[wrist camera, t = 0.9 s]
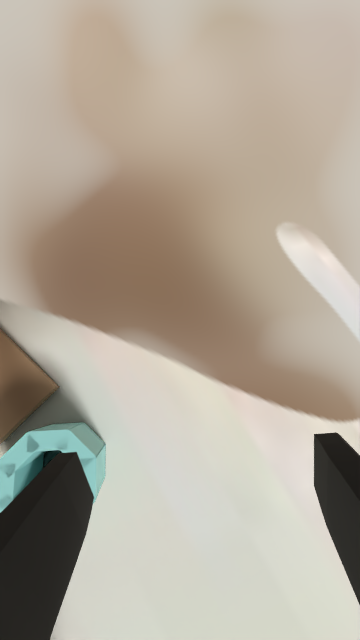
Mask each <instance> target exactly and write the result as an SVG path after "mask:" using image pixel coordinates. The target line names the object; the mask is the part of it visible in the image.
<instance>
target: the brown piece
mask: <svg viewBox="0 0 360 640" xmlns="http://www.w3.org/2000/svg"><path fill="white" fill-rule="evenodd" d="M58 388H59V386H58V385H57V384H56V383H55V382H54V381H53V380H52V379H51V378H50V377H49V376H48V375H47V374H46V373H45V372H44V371H43V370H42V369H41V368H40V367H39V366H38V365H37V364H36V363H35V362H34V361H33V360H32V359H31V358H30V357H29V356H28V355H27V354H26V353H25V352H24V351H23V350H22V349H21V348H20V347H19V346H17V345H16V344H15V343H14V342H13V341H12V340H11V339H10V338H9V337H8V336H7V335H6V334H5V333H4V332H3V331H2V330H1V329H0V444H1V443H2V442H3V441H4V440H5V439H6V438H7V437H8V436H9V435H10V434H11V433H12V432H14V431H15V430H16V429H17V428H18V427H19V426H20V425H21V424H22V423H23V422H24V421H25V420H26V419H27V418H28V417H29V416H30V415H31V414H32V413H33V412H34V411H35V410H36V409H37V408H38V407H39V406H40V405H41V404H42V403H43V402H44V401H46V400H47V399H48V398H49V397H50V396H51V395H52V394H53V393H54V392H55V391H56V390H57V389H58Z"/></svg>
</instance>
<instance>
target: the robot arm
mask: <svg viewBox="0 0 360 640" xmlns="http://www.w3.org/2000/svg"><path fill="white" fill-rule="evenodd" d="M314 487H315V490H316V493H317V497H318V500H319V503H320V507H321V510H322V513H323V516H324V519H325V522H326V525H327V528H328V530H329V533H330V535H331V537H332V540H333V542H334V545H335V547H336V550H337V552H338V554H339V557H340V559H341V562H342V564H343V566H344V569H345V571H346V573H347V576H348V578H349V581H350V583H351V585H352V588H353V590H354V592H355V595H356V597H357V600H358V602H359V604H360V455H359V454H358V453H357V452H356V451H355V450H354V449H353V448H352V447H351V446H350V445H349V444H348V443H347V442H346V441H345V440H344V439H343V438H342V437H341V436H340V435H339V434H338V433H325V434H314ZM93 500H94V496H93V493H92V490H91V488H90V485H89V483H88V480H87V477H86V475H85V472H84V470H83V467H82V464H81V462H80V459H79V457H78V454H77V452H68V453H58V454H57V455H56V456H55V457H54V458H53V459H52V460H51V461H50V462H49V463H48V464H47V465H46V466H45V467H44V468H43V469H42V471H41V472H40V473H39V474H38V475H37V476H36V477H35V478H34V479H33V480H32V481H31V482H30V483H29V484H28V485H27V486H26V487H25V488H24V489H23V490H22V491H21V492H20V493H19V494H18V495H17V496H16V497H15V498H14V500H13V501H12V502H11V503H10V504H9V505H8V506H7V507H6V508H5V509H4V510H3V511H2V512H1V513H0V640H50V637H51V634H52V631H53V628H54V625H55V622H56V619H57V616H58V613H59V610H60V607H61V605H62V602H63V599H64V596H65V593H66V590H67V587H68V585H69V582H70V579H71V576H72V573H73V570H74V567H75V565H76V562H77V559H78V556H79V553H80V550H81V547H82V544H83V541H84V538H85V535H86V531H87V527H88V523H89V519H90V514H91V510H92V505H93Z"/></svg>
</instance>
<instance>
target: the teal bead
mask: <svg viewBox="0 0 360 640" xmlns="http://www.w3.org/2000/svg"><path fill="white" fill-rule="evenodd" d="M52 450H60V451H61V452H62V453H68V452H77V454H78V457H79V459H80V462H81V464H82V467H83V470H84V472H85V475H86V477H87V480H88V483H89V485H90V488H91V490H92V493H93V496H94V500H93V503H94V502H95V500H96V498H97V495H98V493H99V490H100V488H101V485H102V483H103V480H104V478H105V453H106V444H105V442H104V441H103V440H101V439H100V438H99V437H98V436H97V435H96V434H95V433H94V432H93V431H92V430H91V429H90V428H89V427H88V426H87V425H86V424H85V423H84V422H81V423H63V424H52V425H48V426H45V427H42V428H39V429H35V430H32V431H29V432H27V433H26V434H25V435H24V436H23V437H22V438H21V439H20V440H19V441H18V442H16V443H15V444H14V445H13V446H12V447H11V448H10V449H9V450H8V451H7V452H6V453H5V454H4V455H3V456H2V457H1V458H0V513H1V512H2V511H3V510H4V509H5V508H6V507H7V506H8V505H9V504H10V503H11V502H12V501H13V500H14V498H15V497H16V496H17V495H18V494H19V493H20V492H21V491H22V490H23V489H24V488H25V487H26V486H27V485H28V484H29V483H30V482H31V481H32V480H33V479H34V478H35V477H36V476H37V475H38V474H39V473H40V472H41V471H42V469H43V456H44V453H45V452H46V451H52Z"/></svg>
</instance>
